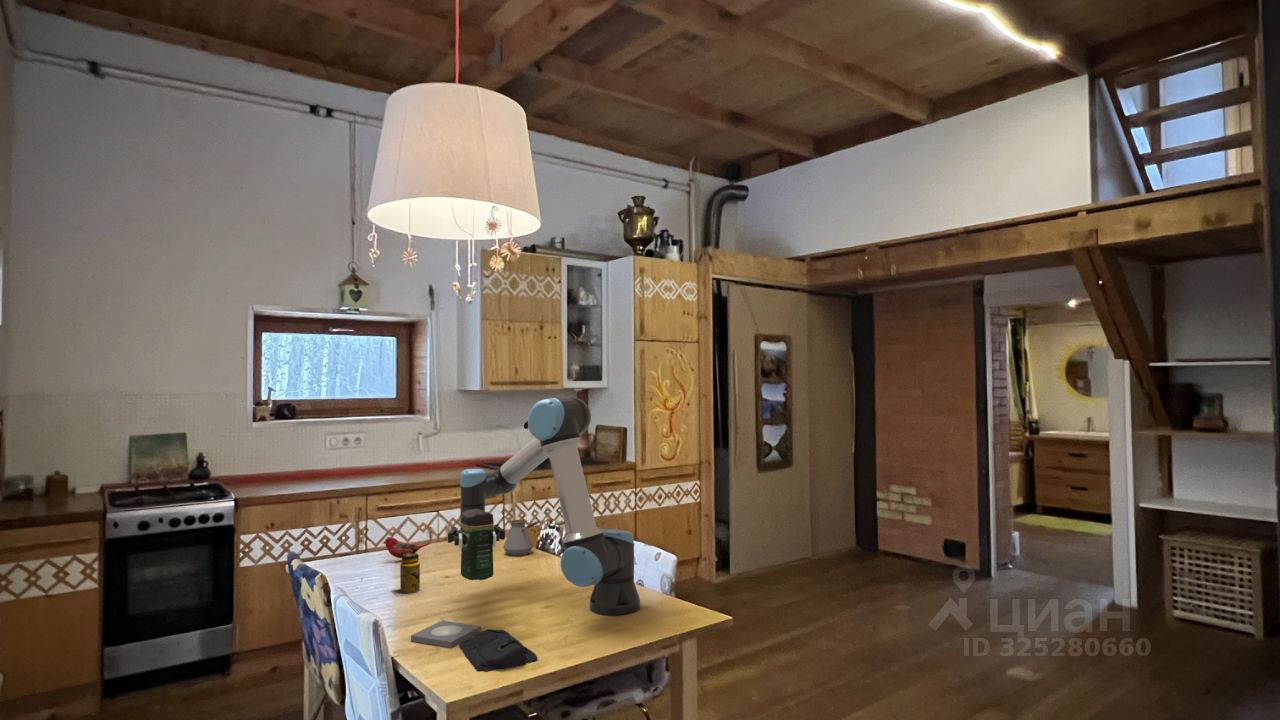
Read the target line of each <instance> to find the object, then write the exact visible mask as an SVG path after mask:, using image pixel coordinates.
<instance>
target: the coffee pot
mask: <svg viewBox="0 0 1280 720" xmlns="http://www.w3.org/2000/svg"><path fill="white" fill-rule="evenodd" d="M526 523H527V520H526V519H513V520H510V521H509V524H510V525H511V527H510V530H509V533H508V535H507V536H506V538H505V539H506V540H505V543H504V544H503V549H504V552H505V553H507V554H508V556H512V557H522V556H527V555H528V554H529V553H530V552H531V551H532V550H533V547H534V544H533V543H532V540H531V538H530V535H529V533H528V531H527V530H528V529H530V528H533V527H535V526H538V524H540V525H539V527H541V526H542V522H541V521H539V520H537V521H534V522H532V523H530V524H528V525H527V526H525V525H526Z"/></svg>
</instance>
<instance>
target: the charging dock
mask: <svg viewBox="0 0 1280 720" xmlns="http://www.w3.org/2000/svg"><path fill="white" fill-rule="evenodd" d="M481 632H482V625H476V624H472V623H470V624H469V623H463V622H456V621H449V620H441V621H438V622H436V623H434V624H432V625H430V626H428V627H426V628H423V629H421V630H419V631H417V632H415V633H412V634H411V635H410V641H411V642H413V643H419V644H424V645H426V644H427V645H432V646H436V647H437V646H438V647H442V648H443V647H444V648H450V649H452V648H454V647H456V646H457V645H458V646H459V644H461V643H462V642H464V641H465V640H467V639H469V638H472V637H474V636H476V635H477V634H479V633H481Z"/></svg>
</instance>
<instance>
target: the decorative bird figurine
mask: <svg viewBox="0 0 1280 720" xmlns="http://www.w3.org/2000/svg"><path fill="white" fill-rule="evenodd" d="M382 544H384V545H385V547H386V549H387V551H388V552H389V554H390V555H391V556H392V557H394V558H398V559H401V560H402V555H403V554H406V553H417V552H418V551H419V550H420V549H422V548H424V547H427V546H429V545H430V544H432V543H431V542H427V543H423V544H420V545H416V544H415V543H414V544H413V543H410V542H403V541H400V540H398V539H397V538H395V537H392V536H387V537H386V538H385V540H384V541H383V542H382ZM401 560H396V561H394V563H399V562H400V563H402V561H401Z"/></svg>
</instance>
